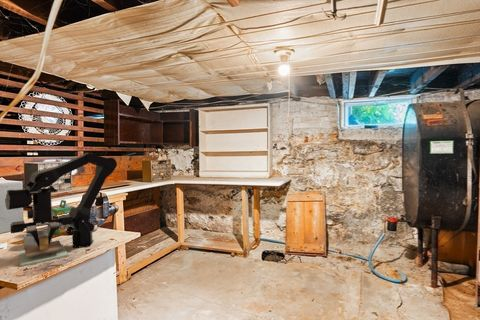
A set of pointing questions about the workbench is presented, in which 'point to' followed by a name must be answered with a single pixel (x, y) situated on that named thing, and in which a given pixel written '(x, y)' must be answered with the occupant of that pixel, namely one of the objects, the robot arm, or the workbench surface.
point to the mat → (42, 257)
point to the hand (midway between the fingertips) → (43, 245)
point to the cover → (43, 247)
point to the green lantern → (60, 213)
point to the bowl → (30, 239)
